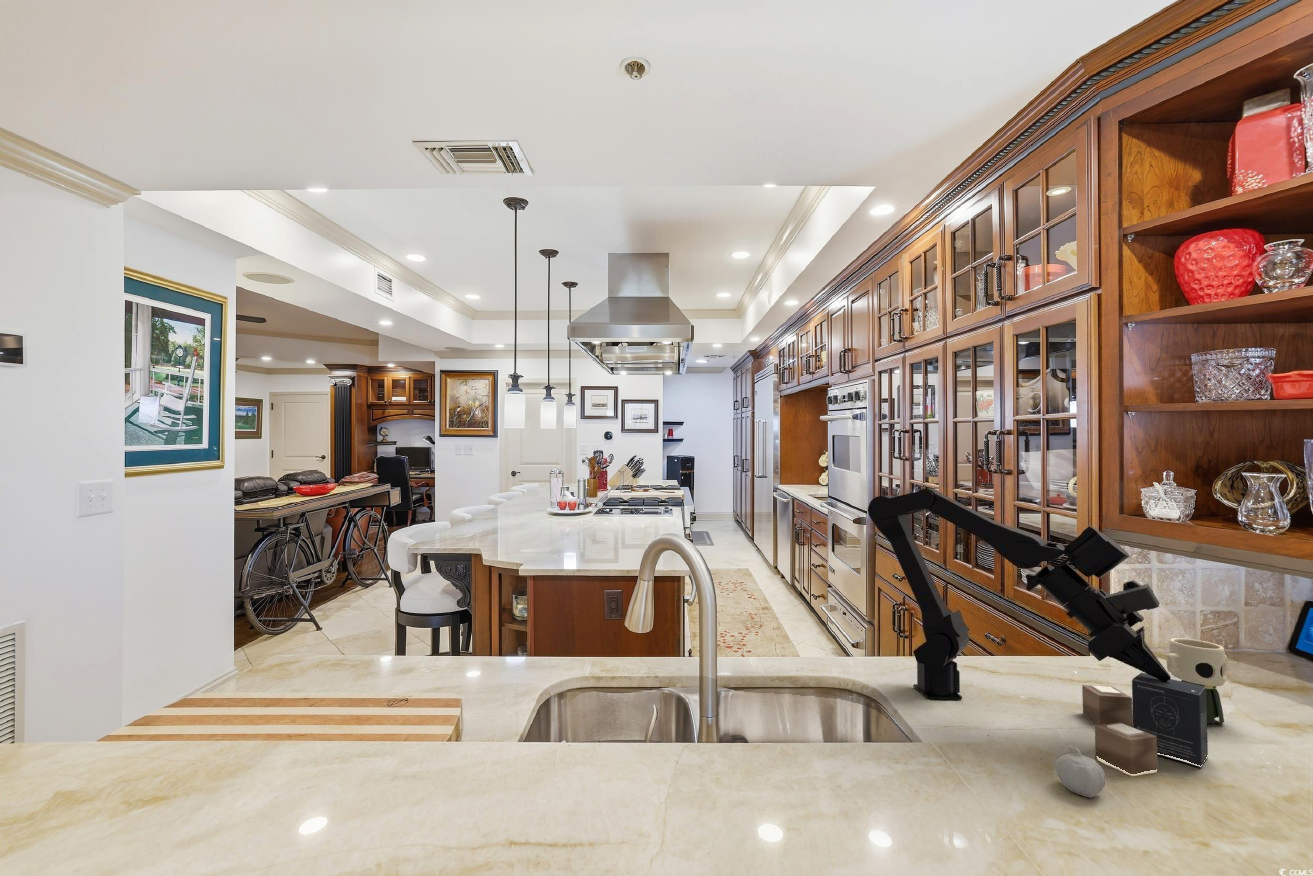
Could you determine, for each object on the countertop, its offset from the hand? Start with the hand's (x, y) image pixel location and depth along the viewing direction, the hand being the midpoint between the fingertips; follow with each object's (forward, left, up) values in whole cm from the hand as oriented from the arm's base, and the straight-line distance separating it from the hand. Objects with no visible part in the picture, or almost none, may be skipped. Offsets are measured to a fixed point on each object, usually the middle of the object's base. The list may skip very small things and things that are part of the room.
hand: (1168, 680), depth 88 cm
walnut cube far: (0, +12, -11) cm, 16 cm away
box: (0, 0, -11) cm, 11 cm away
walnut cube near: (-10, -4, -11) cm, 15 cm away
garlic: (-22, -11, -11) cm, 27 cm away
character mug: (+17, +13, -11) cm, 24 cm away
